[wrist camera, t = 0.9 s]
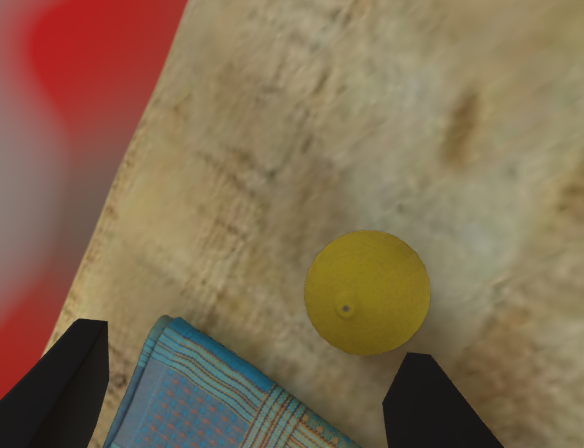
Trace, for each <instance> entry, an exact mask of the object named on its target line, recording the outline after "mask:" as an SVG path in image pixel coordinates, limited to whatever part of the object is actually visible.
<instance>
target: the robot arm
mask: <svg viewBox="0 0 584 448" xmlns="http://www.w3.org/2000/svg"><path fill="white" fill-rule="evenodd" d="M108 383H109V353H108V321H100V320H90V319H80V318H79V319H78V320H76V321H74V322H73V324H72V325H71V326H70V327H69V328H68V329H67V331H66V332H65V333H64V334H63V335H62V336H61V337H60V338H59V340H58V341H57V342H56V343H55V344H54V345H53V346H52V347H51V348H50V350H49V351H48V352H47V353H46V354H45V355H44V356H43V357H42V358H41V359H40V360H39V361H38V362H37V364H36V365H35V366H34V367H33V368H32V369H31V370H30V371H29V372H28V373H27V374H26V375H25V376H24V377H23V378H22V379H21V380H20V381H19V382H18V383H17V384H16V385H15V386H14V387H13V388H12V389H11V390H10V391H9V392H8V393H7V394H6V395H5V396H4V397H3V398H2V399H1V400H0V448H87V447H88V444H89V442H90V439H91V437H92V434H93V432H94V429H95V427H96V424H97V421H98V417H99V414H100V411H101V407H102V404H103V400H104V397H105V393H106V390H107V386H108ZM382 405H383V413H384V421H385V429H386V436H387V442H388V448H504V447H503V446H502V445H501V443H500V442H499V441H498V440H497V439H496V437H495V436H494V435H493V434H492V432H491V431H490V430H489V429H488V427H487V426H486V425H485V424H484V423H483V421H482V420H481V419H480V418H479V416H478V415H477V414H476V412H475V411H474V410H473V409H472V407H471V406H470V405H469V404H468V402H467V401H466V400H465V398H464V397H463V396H462V395H461V393H460V392H459V391H458V389H457V388H456V387H455V386H454V384H453V383H452V382H451V380H450V379H449V378H448V376H447V375H446V374H445V373H444V371H443V370H442V369H441V367H440V366H439V365H438V364H437V362H436V361H435V360H434V359H433V357H432V356H431V355H429V354H419V353H410V352H407V354H406V356H405V358H404V360H403V362H402V364H401V366H400V368H399V370H398V372H397V374H396V376H395V378H394V380H393V382H392V384H391V386H390V388H389V390H388V392H387V394H386V396H385V398H384V400H383V402H382Z"/></svg>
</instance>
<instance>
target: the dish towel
mask: <svg viewBox="0 0 584 448" xmlns="http://www.w3.org/2000/svg"><path fill="white" fill-rule="evenodd" d="M103 448H361V447H360V446H358V445H357V444H356V443H355V442H354V441H352V440H350V439H349V438H348V437H347V436H345V435H343V434H342V433H341V432H340V431H339V430H337V429H335V428H334V427H332V426H331V425H330V424H328V423H327V422H326V421H325V420H323V419H322V418H320V417H319V416H318V415H316V414H315V413H314V412H313V411H312V410H311V409H309V408H308V407H307V406H305V405H304V404H303V403H301V402H300V401H299V400H297V399H296V398H295V397H294V396H292V395H291V394H290V393H289V392H287V391H286V390H284V389H283V388H282V387H280V386H279V385H277V384H276V383H275V382H274V381H272V380H270V379H269V378H268V377H267V376H265V375H264V374H263V373H262V372H261V371H259V370H258V369H256V368H255V367H253V366H252V365H251V364H249V363H248V362H246V361H244V360H243V359H241V358H240V357H238V356H237V355H236V354H235V353H233V352H231V351H230V350H228V349H227V348H225V347H224V346H223V345H222V344H220V343H218V342H216V341H215V340H213V339H212V338H211V337H209V336H207V335H205V334H203V333H201V332H200V331H199V330H197V329H195V328H194V327H193V326H191V325H190V324H189V323H187V322H186V321H185V320H183V319H182V318H181V317H177V318H176V319H173V318H171V317H169V316H167V315H163V316H161V317H160V318H159V319H158V320H157V322H156V323H155V325H154V326H153V328H152V329H151V331H150V332H149V335H148V337H147V339H146V341H145V343H144V346H143V349H142V352H141V354H140V357H139V360H138V363H137V366H136V368H135V371H134V373H133V376H132V378H131V381H130V383H129V386H128V389H127V390H126V393H125V395H124V398H123V400H122V402H121V404H120V407H119V409H118V411H117V414H116V416H115V418H114V420H113V422H112V425H111V427H110V430H109V432H108V435H107V438H106V441H105V443H104V446H103Z"/></svg>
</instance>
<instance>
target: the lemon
mask: <svg viewBox="0 0 584 448" xmlns="http://www.w3.org/2000/svg"><path fill="white" fill-rule="evenodd" d="M430 296H431V294H430V281H429V277H428V274H427V271H426V269H425V266H424V264H423V262H422V261H421V259H420V258H419V256H418V255H417V253H416V252H415V251H414V250H413V249H412V248H411V247H410V246H409V245H407V244H406V243H405V242H404V241H402V240H400V239H398V238H397V237H395V236H393V235H391V234H387V233H383V232H379V231H356V232H353V233H349V234H345V235H343V236H341V237H339V238H337V239H336V240H334V241H332V242H331V243H329V244H328V245H327V246H326V247H325V248H324V249H323V250H322V251H321V252H320V253H319V254H318V255H317V256H316V258H315V260H314V262H313V263H312V265H311V267H310V268H309V271H308V274H307V278H306V281H305V287H304V301H305V306H306V311H307V314H308V316H309V318H310V321H311V323H312V325H313V326H314V328H315V329H316V330H317V332H318V333H319V334H320V336H321V337H322V338H324V339H325V340H326V341H327V342H328V343H330V344H331V345H332V346H334V347H336V348H338V349H340V350H342V351H344V352H347V353H352V354H356V355H377V354H381V353H384V352H388V351H391V350H393V349H395V348H397V347H398V346H400V345H402V344H403V343H405V342H406V341H408V340H409V339H410V338H411V337H412V336H413V335H414V334H415V332H416V331H417V330H418V329H419V328H420V326H421V324H422V322H423V320H424V318H425V316H426V314H427V312H428V307H429V302H430Z"/></svg>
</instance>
